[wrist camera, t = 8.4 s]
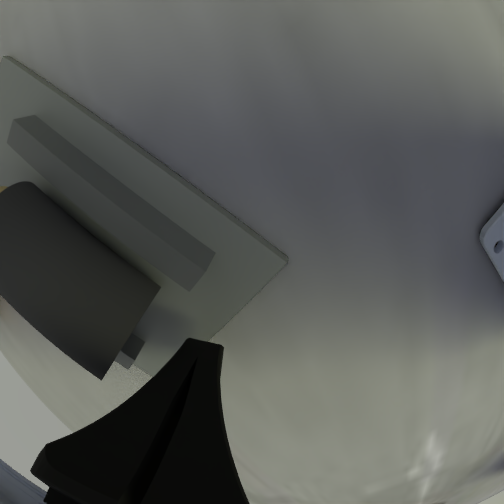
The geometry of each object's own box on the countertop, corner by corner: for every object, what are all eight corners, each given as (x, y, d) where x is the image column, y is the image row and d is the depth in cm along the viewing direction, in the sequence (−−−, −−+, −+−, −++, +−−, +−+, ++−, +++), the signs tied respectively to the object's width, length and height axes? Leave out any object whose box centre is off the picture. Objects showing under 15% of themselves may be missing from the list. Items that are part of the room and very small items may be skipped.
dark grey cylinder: (174, 267, 10) (123, 346, 7) (134, 326, 12) (92, 395, 8) (34, 156, 9) (-42, 189, 5) (18, 228, 11) (-41, 270, 7)
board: (288, 257, 10) (286, 283, 9) (165, 377, 14) (155, 400, 13) (-40, 24, 6) (-58, 25, 4) (-70, 151, 10) (-85, 158, 8)
